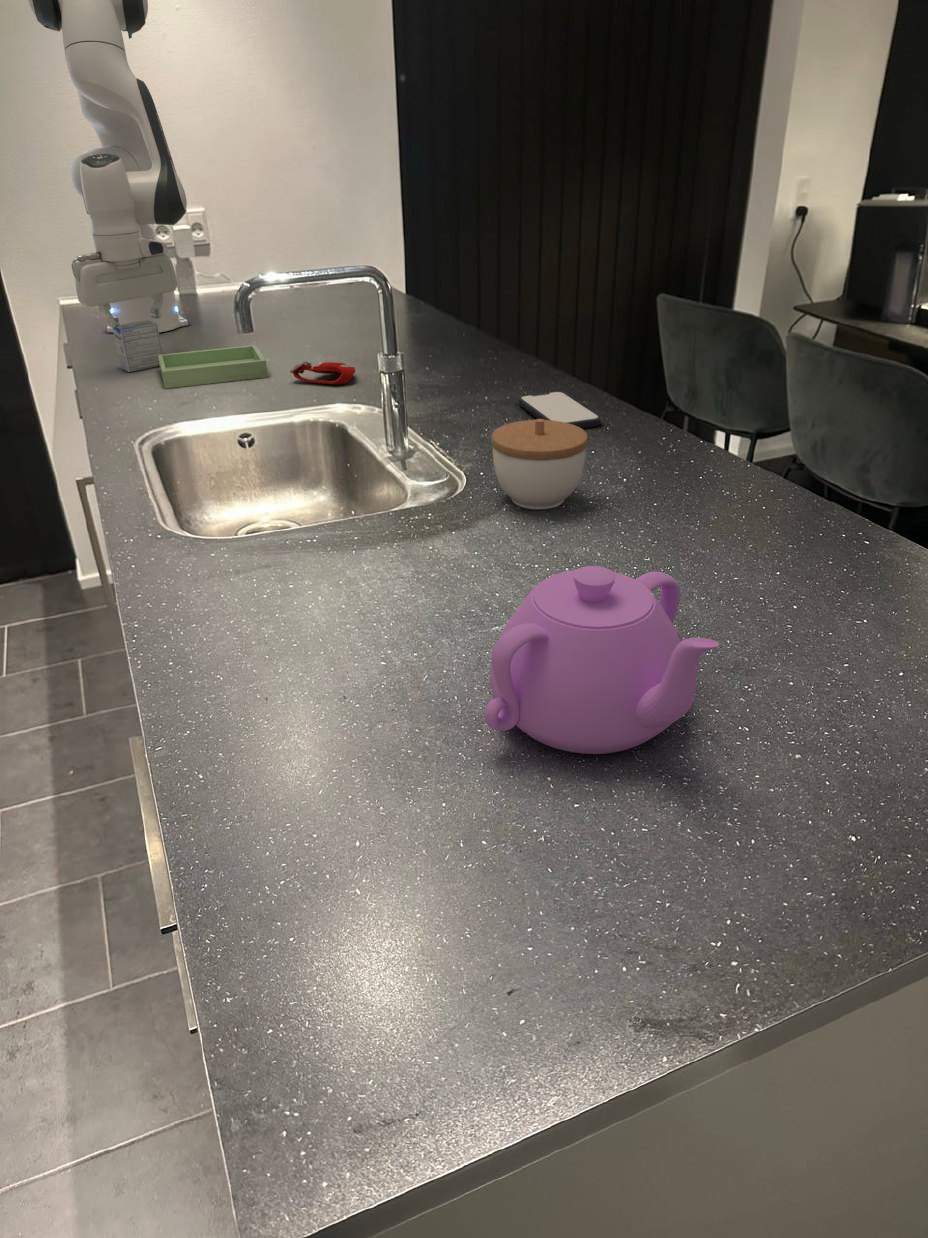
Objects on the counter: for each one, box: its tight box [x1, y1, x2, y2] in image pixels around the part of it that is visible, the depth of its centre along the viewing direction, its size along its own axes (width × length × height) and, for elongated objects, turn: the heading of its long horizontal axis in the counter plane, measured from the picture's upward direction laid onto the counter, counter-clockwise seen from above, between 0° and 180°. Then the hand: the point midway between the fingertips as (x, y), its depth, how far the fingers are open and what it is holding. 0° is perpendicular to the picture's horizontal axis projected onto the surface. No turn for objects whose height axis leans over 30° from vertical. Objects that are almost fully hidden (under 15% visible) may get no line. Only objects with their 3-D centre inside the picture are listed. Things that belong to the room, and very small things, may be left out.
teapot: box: [483, 565, 720, 755], centre depth 76 cm, size 22×22×14 cm
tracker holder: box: [289, 360, 356, 385], centre depth 174 cm, size 12×4×10 cm
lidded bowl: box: [491, 418, 589, 510], centre depth 120 cm, size 13×13×11 cm
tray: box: [158, 344, 269, 389], centre depth 180 cm, size 14×20×3 cm
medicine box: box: [112, 320, 164, 373], centre depth 184 cm, size 8×4×9 cm, turn 130°
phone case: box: [518, 391, 601, 430], centre depth 153 cm, size 9×2×16 cm
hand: (135, 322), depth 182 cm, fingers open, 8 cm apart
